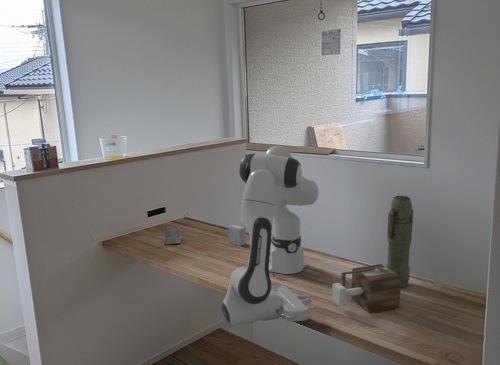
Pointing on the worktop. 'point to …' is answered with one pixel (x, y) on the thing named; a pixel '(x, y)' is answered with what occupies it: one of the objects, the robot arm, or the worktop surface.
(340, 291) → the peg
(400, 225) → the olive green tall piece
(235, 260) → the worktop surface
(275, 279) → the worktop surface
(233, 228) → the medicine box
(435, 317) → the worktop surface
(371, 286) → the block
